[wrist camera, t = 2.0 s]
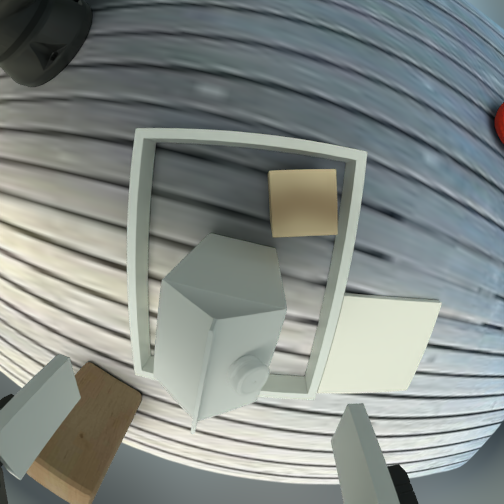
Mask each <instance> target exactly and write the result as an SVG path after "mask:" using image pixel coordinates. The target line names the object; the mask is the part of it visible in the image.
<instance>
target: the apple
mask: <svg viewBox="0 0 504 504" xmlns="http://www.w3.org/2000/svg"><path fill="white" fill-rule="evenodd" d="M495 129H496V132H497V134H498V136H499V138H500V140H501V141H502V143H503V144H504V102H503V104H502V105H501V106H500V108H499V109H498V111H497V113H496V117H495Z"/></svg>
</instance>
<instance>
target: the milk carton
mask: <svg viewBox="0 0 504 504" xmlns="http://www.w3.org/2000/svg"><path fill="white" fill-rule="evenodd" d="M286 311H287V307H286V300H285V294H284V289H283V284H282V278H281V273H280V267H279V262H278V257H277V252H276V248H272V247H268V246H264V245H259V244H255V243H251V242H247V241H242V240H238V239H234V238H229V237H225V236H221V235H217V234H212V233H210V234H209V235H208V236H206V237H205V238H204V239H203V240H202V241H201V242H200V243H199V244H198V245H197V246H196V247H195V248H194V249H193V250H192V251H191V252H190V253H189V254H188V255H187V256H186V257H185V258H184V259H183V260H182V261H181V262H180V263H179V264H178V265H177V266H176V267H175V268H174V269H173V270H172V271H171V272H170V273H169V274H168V275H167V276H166V277H165V278H164V279H162V283H161V290H160V298H159V307H158V317H157V328H156V340H155V354H154V377H155V378H156V379H157V380H158V382H159V383H160V384H161V385H162V386H163V387H164V388H165V390H166V391H167V392H168V393H169V394H170V395H171V396H172V397H173V399H174V400H175V401H176V402H177V403H178V404H179V405H180V406H181V407H182V408H183V409H184V410H185V411H186V412H187V414H188V415H189V416H190V417H191V418H192V419H193V422H192V428H191V433H192V434H194V433H195V429H196V425H197V421H201V420H204V419H207V418H210V417H213V416H217V415H220V414H223V413H226V412H228V411H231V410H234V409H237V408H240V407H243V406H245V405H248V404H251V403H253V402H255V401H256V400H257V398H258V396H259V394H260V391H261V388H262V387H263V386H264V384H265V383H266V381H267V379H268V377H269V372H270V371H269V365H270V362H271V359H272V356H273V353H274V350H275V347H276V344H277V341H278V338H279V335H280V332H281V329H282V325H283V322H284V319H285V315H286Z"/></svg>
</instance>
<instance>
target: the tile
mask: <svg viewBox="0 0 504 504" xmlns="http://www.w3.org/2000/svg"><path fill="white" fill-rule="evenodd" d="M441 304H442V303H441V302H440V301H439V300H429V299H415V298H401V297H388V296H376V295H364V294H353V293H344V297H343V301H342V305H341V309H340V313H339V317H338V321H337V325H336V329H335V333H334V336H333V340H332V344H331V347H330V351H329V354H328V358H327V361H326V365H325V368H324V371H323V374H322V378H321V381H320V384H319V387H318V390H317V393H374V392H391V391H404V390H407V389H408V387H409V385H410V383H411V381H412V379H413V376H414V374H415V372H416V370H417V368H418V365H419V363H420V361H421V358H422V356H423V354H424V351H425V349H426V346H427V344H428V341H429V339H430V336H431V333H432V331H433V328H434V325H435V322H436V319H437V316H438V313H439V310H440V307H441Z"/></svg>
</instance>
